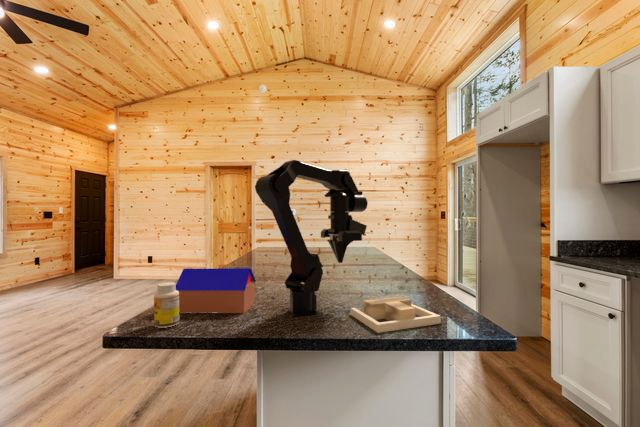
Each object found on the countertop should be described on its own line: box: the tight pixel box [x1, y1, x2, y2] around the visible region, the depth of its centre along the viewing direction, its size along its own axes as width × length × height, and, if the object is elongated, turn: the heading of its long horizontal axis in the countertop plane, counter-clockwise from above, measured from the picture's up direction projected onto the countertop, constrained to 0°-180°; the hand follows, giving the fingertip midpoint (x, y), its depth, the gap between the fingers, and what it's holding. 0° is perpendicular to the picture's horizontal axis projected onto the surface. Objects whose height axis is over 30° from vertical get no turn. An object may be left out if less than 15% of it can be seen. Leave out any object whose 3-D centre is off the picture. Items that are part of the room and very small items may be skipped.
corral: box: [350, 303, 442, 334], centre depth 81 cm, size 17×14×2 cm
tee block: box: [363, 296, 416, 321], centre depth 81 cm, size 11×12×4 cm
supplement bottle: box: [153, 281, 180, 329], centre depth 78 cm, size 6×6×10 cm
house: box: [175, 267, 257, 314], centre depth 93 cm, size 12×20×12 cm, turn 87°
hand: (340, 262), depth 98 cm, fingers closed
